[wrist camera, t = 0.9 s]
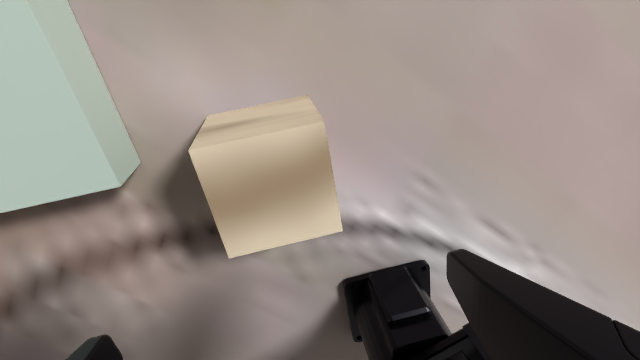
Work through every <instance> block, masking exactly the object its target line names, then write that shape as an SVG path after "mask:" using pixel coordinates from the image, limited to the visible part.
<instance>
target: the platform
mask: <svg viewBox="0 0 640 360" xmlns="http://www.w3.org/2000/svg"><path fill="white" fill-rule="evenodd" d="M140 163H141V161H140V159H139V157H138V155H137V153H136V150H135V148H134V146H133V144H132V142H131V139H130V137H129V135H128V133H127V131H126V128H125V126H124V124H123V122H122V120H121V117H120V115H119V113H118V111H117V109H116V106H115V104H114V102H113V100H112V98H111V95H110V93H109V91H108V89H107V87H106V84H105V82H104V80H103V78H102V76H101V74H100V71H99V69H98V67H97V65H96V63H95V60H94V58H93V56H92V54H91V52H90V49H89V47H88V45H87V43H86V41H85V38H84V36H83V34H82V32H81V30H80V27H79V25H78V23H77V21H76V19H75V16H74V14H73V12H72V10H71V8H70V5H69V3H68V1H67V0H0V213H3V212H8V211H12V210H17V209H21V208H26V207H30V206H35V205H39V204H44V203H48V202H53V201H58V200H62V199H67V198H71V197H76V196H80V195H85V194H89V193H94V192H98V191H103V190H107V189H112V188H117V187H121V186H122V184H123V183H124V182H125V181H126V180H127V179H128V177H129V176H130V175H131V174H132V173H133V172H134V170H135V169H136V168H137V167H138V166H139V164H140Z"/></svg>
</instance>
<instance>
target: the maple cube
mask: <svg viewBox="0 0 640 360" xmlns="http://www.w3.org/2000/svg"><path fill="white" fill-rule="evenodd" d="M188 152H189V154H190V157H191V159H192V162H193V165H194V167H195V170H196V173H197V175H198V178H199V181H200V183H201V186H202V188H203V191H204V194H205V196H206V199H207V202H208V204H209V207H210V210H211V212H212V215H213V218H214V220H215V223H216V225H217V228H218V231H219V233H220V236H221V239H222V241H223V244H224V247H225V249H226V252H227V254H228V257H229V258H233V257H237V256H241V255H246V254H250V253H254V252H258V251H262V250H266V249H271V248H275V247H279V246H283V245H287V244H291V243H295V242H300V241H304V240H308V239H312V238H316V237H320V236H325V235H329V234H333V233H337V232H341V231H343V229H342V223H341V217H340V212H339V206H338V200H337V194H336V188H335V182H334V176H333V170H332V165H331V159H330V153H329V147H328V141H327V135H326V129H325V123H324V120H323V119H322V117H321V116H320V114H319V113H318V111H317V109H316V108H315V106H314V105H313V103H312V102H311V100H310V99H309V97H308V95H304V96H300V97H295V98H290V99H285V100H281V101H276V102H271V103H266V104H262V105H257V106H252V107H247V108H242V109H238V110H233V111H228V112H223V113H219V114H214V115H209V116H207V118H206V120H205V122H204V123H203V125H202V127H201V129H200V130H199V132H198V134H197V136H196V138H195V139H194V141H193V143H192V145H191V146H190V148H189V150H188Z"/></svg>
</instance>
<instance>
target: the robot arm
mask: <svg viewBox="0 0 640 360" xmlns="http://www.w3.org/2000/svg"><path fill="white" fill-rule="evenodd" d="M421 267H422V268H421ZM447 279H448V282H449V285H450V286H451V288H452V290H453V292H454V294H455V296H456V298H457V300H458V302H459V304H460V306H461V308H462V310H463V311H464V313H465V315H466V317H467V319H468V321H469V323H468V324H466V325H464V326H462V327H463V328H462V329H460V330H459V331H457V332H455V333H453V334H452V333H451V332H450V330H449V328H448V327H447V325H446V324H445V322H444V320H443V319H442V317H441V315H440V314H439V312H438V311H437V309H436V307H435V306H434V304H433V302H432V301H431V299H430V267H429V265H428V263H427V262H426V261H425V260H420V261H416V262H412V263H408V264H404V265H400V266H396V267H392V268H388V269H384V270H380V271H376V272H372V273H368V274H364V275H360V276H356V277H352V278H348V279H346V280H345V281H344V282H343V288H344V293H345V298H346V304H347V309H348V314H349V320H350V325H351V331H352V336H353V339H354V341H355V342H362V341H363V343H364V346H365V349H366V352H367V355H368V358H369V360H640V331H638V330H635V329H633V328H631V327H629V326H627V325H625V324H623V323H620V322H618V321H616V320H613V321H612V319H611V318H609V317H607V316H605V315H603V314H601V313H599V312H597V311H595V310H592V309H590V308H588V307H586V306H584V305H582V304H580V303H578V302H575V301H573V300H571V299H569V298H567V297H565V296H563V295H561V294H558V293H556V292H554V291H552V290H550V289H548V288H546V287H543V286H541V285H539V284H537V283H535V282H533V281H531V280H529V279H526V278H524V277H522V276H520V275H518V274H516V273H514V272H512V271H509V270H507V269H505V268H503V267H501V266H499V265H497V264H494V263H492V262H490V261H488V260H486V259H484V258H482V257H480V256H477V255H475V254H473V253H471V252H469V251H467V250H464V249H458V250H454V251H450V252H448V254H447ZM349 285H351V286H349ZM66 360H123V357H122V354H121V353H120V351H119V349H118V348H117V346H116V345H115V343H114V342H113V340H112V339H111V337H110V336H108V335H101V336H97V337H92V338H90V339H88V340H87V341H85V342H84V343H83V344H82V345H81V346H80V347H79V348H78V349H77V350H76V351H75V352H74V353H72V354H71V355H70V356H69V357H68V358H67V359H66Z"/></svg>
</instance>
